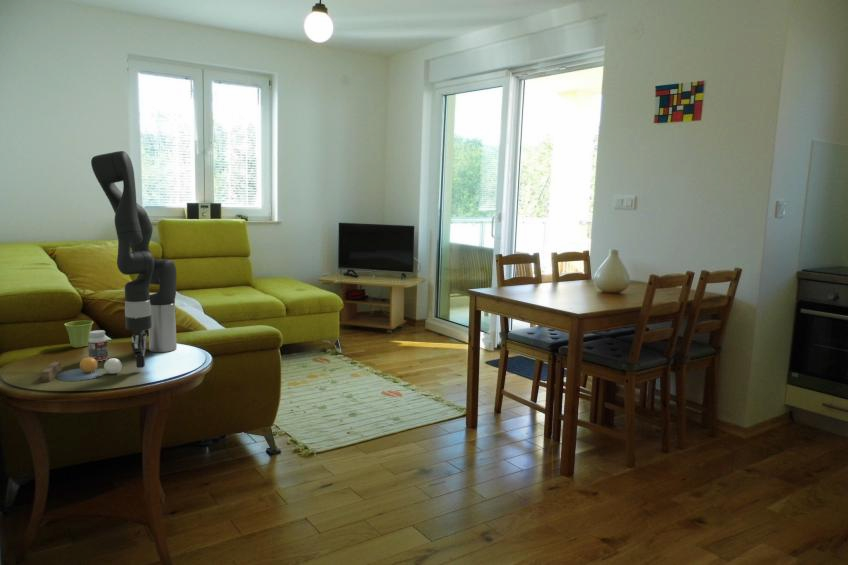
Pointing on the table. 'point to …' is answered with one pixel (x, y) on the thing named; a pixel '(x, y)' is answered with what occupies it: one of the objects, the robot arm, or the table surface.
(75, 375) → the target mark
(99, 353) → the pill bottle
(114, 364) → the cue ball
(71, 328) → the plant pot
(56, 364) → the stopper wall
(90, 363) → the object ball
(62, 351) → the table surface
